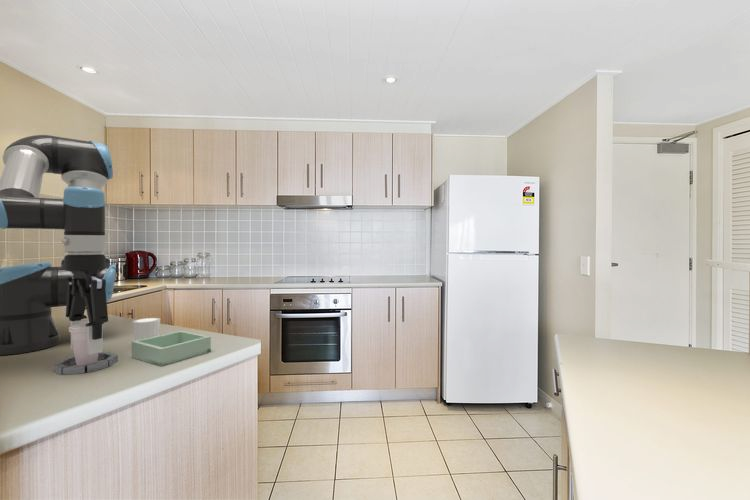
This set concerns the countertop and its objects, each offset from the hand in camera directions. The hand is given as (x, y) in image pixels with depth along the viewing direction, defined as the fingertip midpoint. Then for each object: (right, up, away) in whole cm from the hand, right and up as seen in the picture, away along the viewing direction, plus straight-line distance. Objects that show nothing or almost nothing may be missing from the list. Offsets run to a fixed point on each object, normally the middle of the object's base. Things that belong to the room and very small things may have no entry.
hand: (86, 349), depth 83 cm
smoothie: (0, -4, 0) cm, 4 cm away
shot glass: (+2, -4, +18) cm, 19 cm away
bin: (+15, -4, +9) cm, 18 cm away
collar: (0, -4, 0) cm, 4 cm away
